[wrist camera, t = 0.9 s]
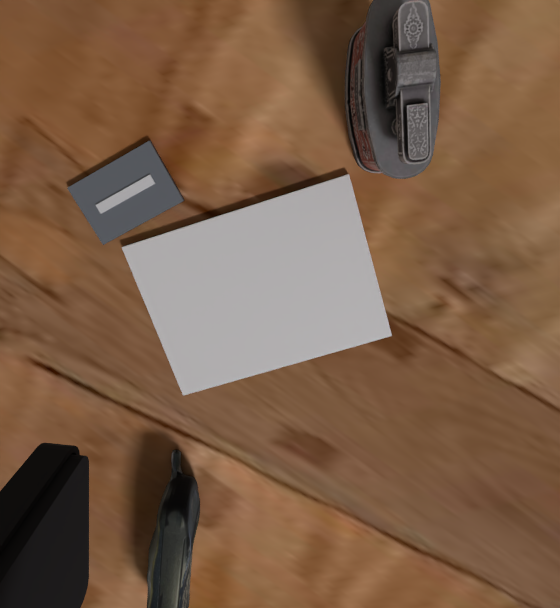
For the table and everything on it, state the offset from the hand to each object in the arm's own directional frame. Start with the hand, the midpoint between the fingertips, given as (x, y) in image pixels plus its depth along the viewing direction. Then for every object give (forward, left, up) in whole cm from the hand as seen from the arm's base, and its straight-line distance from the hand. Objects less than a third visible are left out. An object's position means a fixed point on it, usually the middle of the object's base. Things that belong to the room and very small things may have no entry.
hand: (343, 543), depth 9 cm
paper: (+3, +1, -24) cm, 24 cm away
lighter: (-7, -8, -24) cm, 26 cm away
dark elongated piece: (+15, +18, -25) cm, 34 cm away
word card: (+9, -7, -24) cm, 27 cm away
